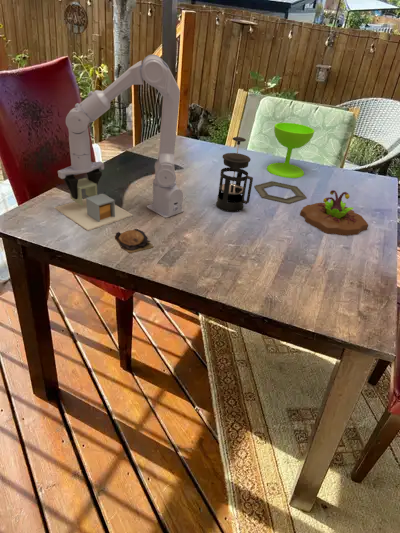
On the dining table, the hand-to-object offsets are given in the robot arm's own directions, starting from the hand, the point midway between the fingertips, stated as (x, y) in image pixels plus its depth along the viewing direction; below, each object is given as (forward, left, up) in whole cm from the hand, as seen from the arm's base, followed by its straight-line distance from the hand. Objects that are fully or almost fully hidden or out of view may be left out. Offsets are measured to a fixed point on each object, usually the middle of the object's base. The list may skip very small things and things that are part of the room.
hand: (83, 195), depth 124 cm
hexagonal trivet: (-31, -64, -4) cm, 71 cm away
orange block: (-9, 0, -3) cm, 10 cm away
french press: (-28, -39, -4) cm, 48 cm away
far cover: (0, 0, -1) cm, 1 cm away
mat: (-5, 0, -4) cm, 6 cm away
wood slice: (-26, +2, -5) cm, 27 cm away
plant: (-56, -59, -4) cm, 81 cm away
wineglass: (-19, -86, -4) cm, 88 cm away
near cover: (-9, 0, -3) cm, 10 cm away
